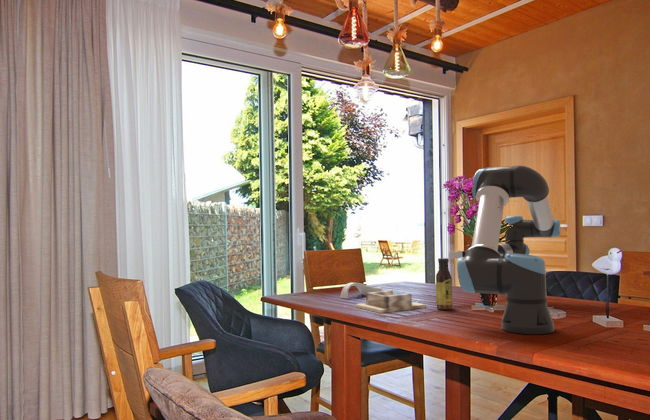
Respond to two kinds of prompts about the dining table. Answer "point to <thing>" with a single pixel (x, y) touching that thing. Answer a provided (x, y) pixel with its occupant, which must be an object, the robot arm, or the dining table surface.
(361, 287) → the grey arched piece
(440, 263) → the sauce bottle
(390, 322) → the dining table surface
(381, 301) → the U-rest
